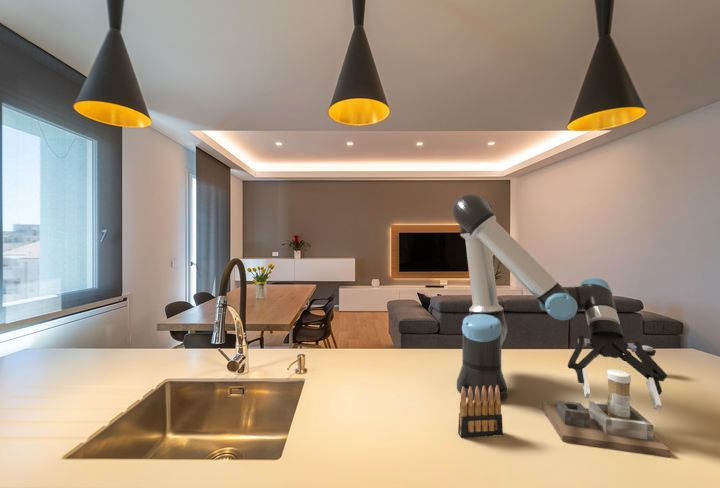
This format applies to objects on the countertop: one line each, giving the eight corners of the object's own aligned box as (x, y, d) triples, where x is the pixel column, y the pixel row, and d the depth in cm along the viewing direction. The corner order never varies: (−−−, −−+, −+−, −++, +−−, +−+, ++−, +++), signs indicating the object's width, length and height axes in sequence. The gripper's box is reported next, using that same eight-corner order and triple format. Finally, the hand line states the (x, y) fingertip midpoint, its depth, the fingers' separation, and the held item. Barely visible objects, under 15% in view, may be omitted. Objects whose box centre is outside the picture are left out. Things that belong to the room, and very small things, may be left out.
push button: (663, 379, 111) (662, 350, 111) (646, 378, 112) (646, 349, 112) (648, 371, 118) (648, 344, 118) (632, 370, 119) (632, 344, 119)
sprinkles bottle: (608, 418, 82) (608, 367, 82) (631, 425, 79) (631, 371, 79) (606, 426, 79) (606, 372, 79) (630, 433, 76) (630, 377, 76)
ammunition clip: (498, 431, 79) (498, 383, 79) (503, 435, 77) (503, 386, 78) (457, 433, 78) (458, 384, 78) (461, 438, 76) (461, 388, 76)
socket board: (562, 441, 75) (562, 420, 75) (542, 408, 90) (541, 390, 90) (670, 456, 70) (669, 434, 70) (628, 418, 85) (628, 400, 85)
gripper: (656, 337, 88) (684, 418, 74) (552, 328, 98) (559, 397, 85) (665, 322, 83) (696, 406, 69) (554, 314, 94) (562, 385, 80)
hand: (621, 401), depth 77 cm, fingers open, 13 cm apart
